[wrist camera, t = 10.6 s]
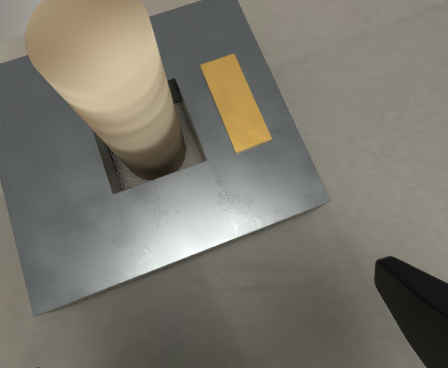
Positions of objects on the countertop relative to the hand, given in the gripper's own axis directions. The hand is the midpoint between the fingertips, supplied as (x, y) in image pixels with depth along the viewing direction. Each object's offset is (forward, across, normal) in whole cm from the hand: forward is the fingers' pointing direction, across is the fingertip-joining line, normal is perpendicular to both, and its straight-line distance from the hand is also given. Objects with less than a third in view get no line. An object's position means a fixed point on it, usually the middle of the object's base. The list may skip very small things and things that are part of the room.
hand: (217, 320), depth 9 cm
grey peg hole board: (+17, +2, +2) cm, 17 cm away
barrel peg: (+17, +2, +2) cm, 17 cm away
